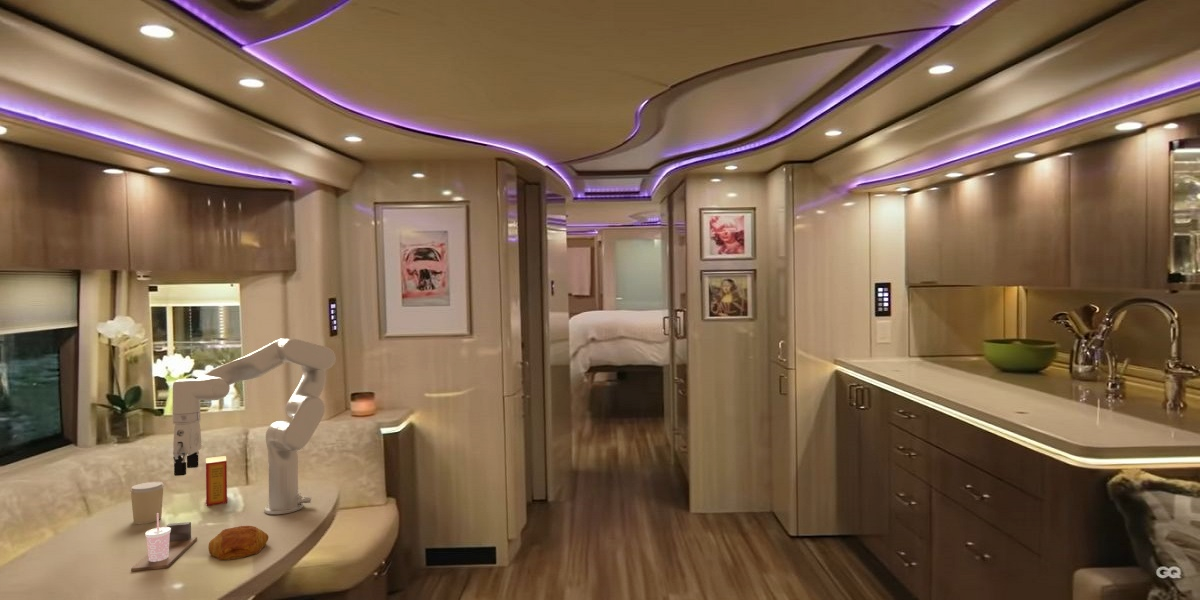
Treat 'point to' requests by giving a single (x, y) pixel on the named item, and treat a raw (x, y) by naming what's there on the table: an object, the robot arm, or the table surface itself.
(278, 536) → the table surface
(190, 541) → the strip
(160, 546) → the beverage cup
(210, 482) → the baking soda box
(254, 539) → the croissant
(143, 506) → the coffee cup
